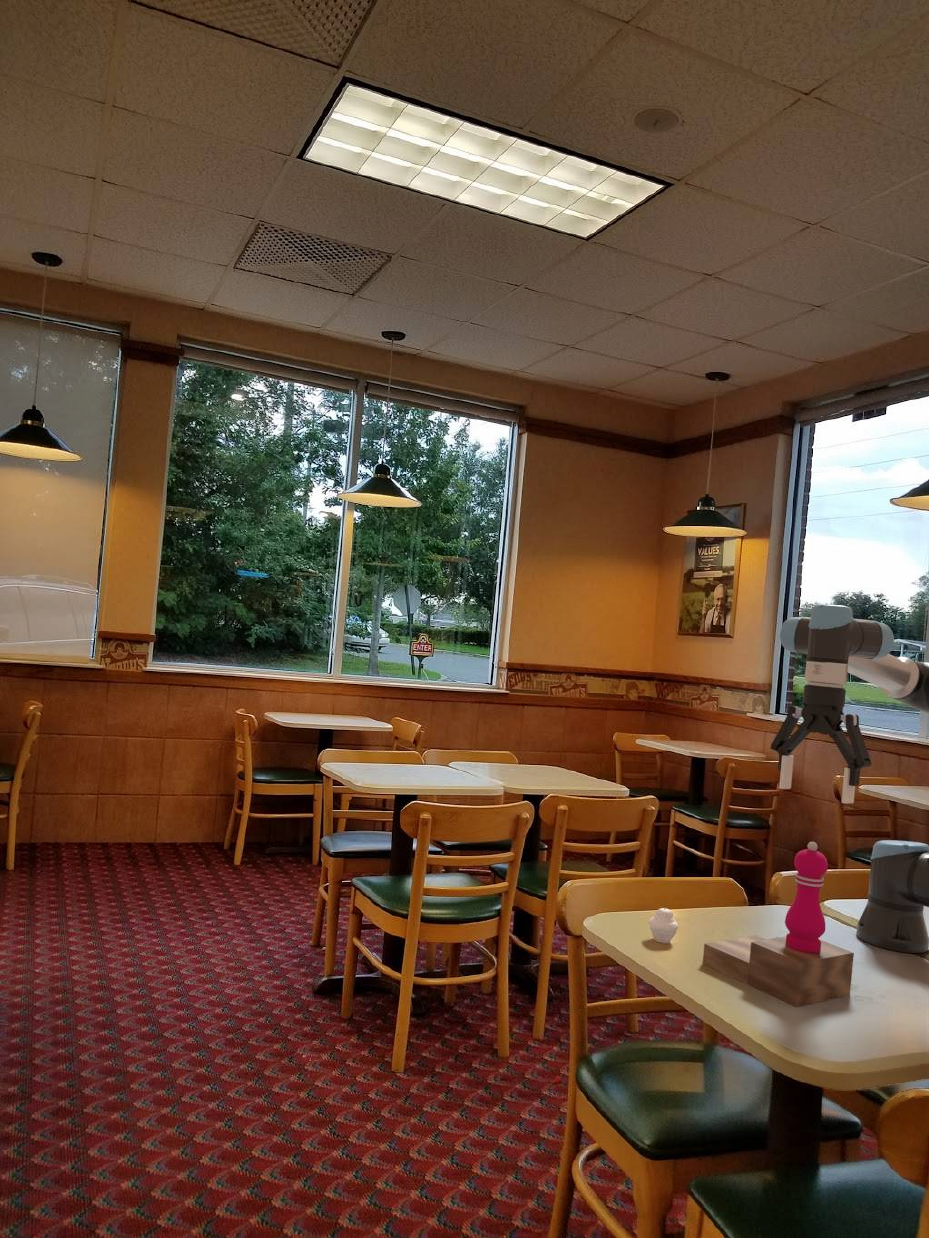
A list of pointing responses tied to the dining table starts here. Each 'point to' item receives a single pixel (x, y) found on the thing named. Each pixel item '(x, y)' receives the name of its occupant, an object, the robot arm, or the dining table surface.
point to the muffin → (663, 925)
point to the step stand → (784, 968)
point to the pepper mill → (807, 902)
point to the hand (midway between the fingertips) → (815, 795)
